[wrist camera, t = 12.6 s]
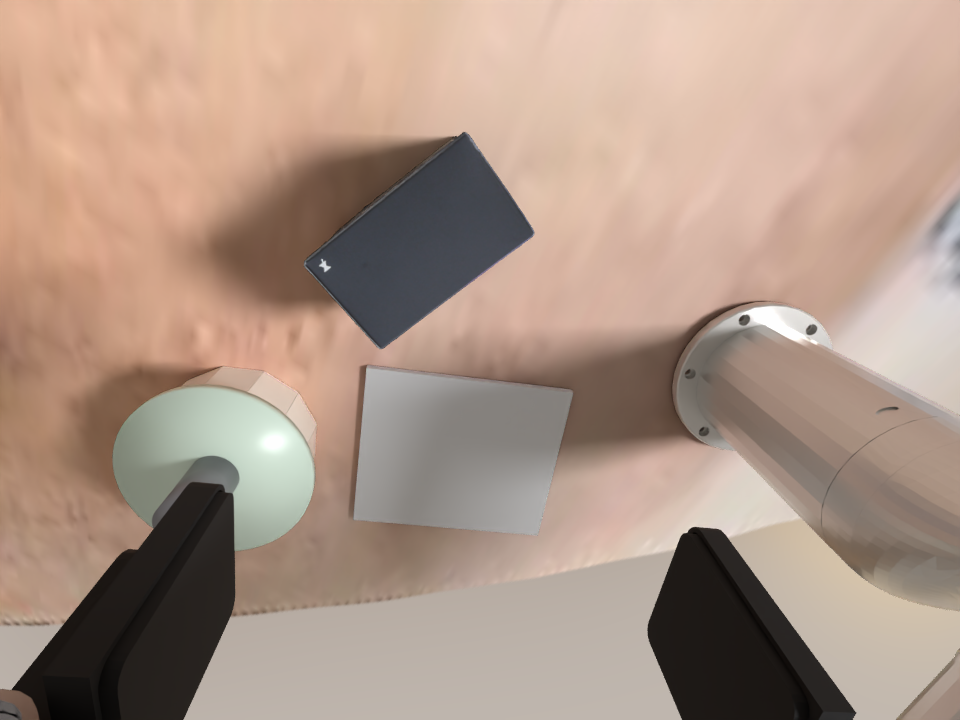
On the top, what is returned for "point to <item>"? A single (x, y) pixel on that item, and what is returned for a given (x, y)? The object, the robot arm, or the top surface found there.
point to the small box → (420, 242)
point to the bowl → (265, 395)
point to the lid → (216, 458)
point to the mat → (457, 450)
